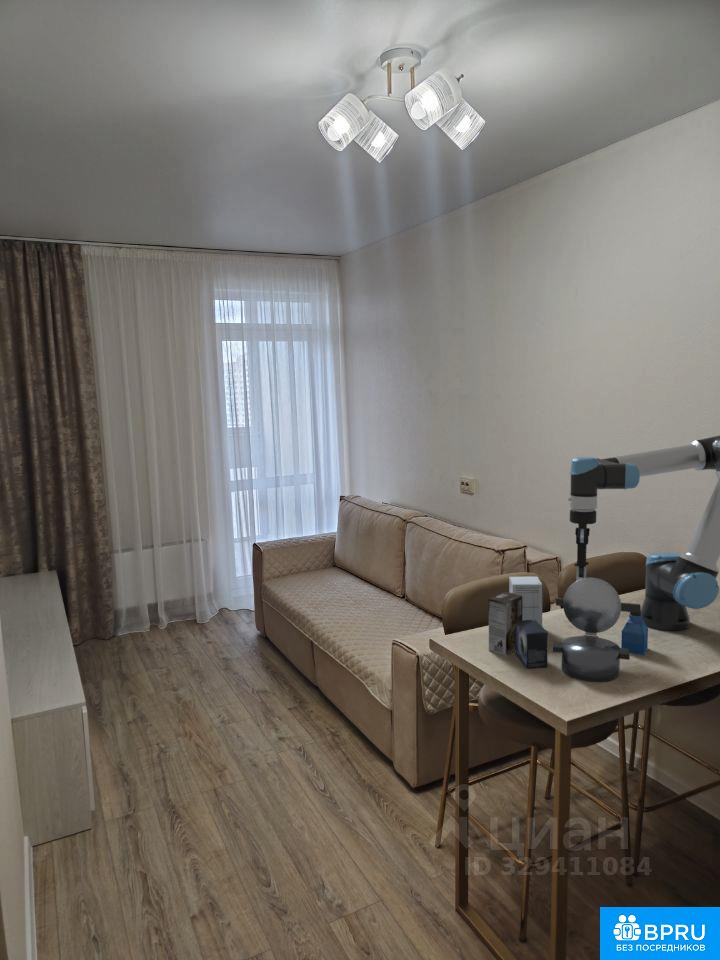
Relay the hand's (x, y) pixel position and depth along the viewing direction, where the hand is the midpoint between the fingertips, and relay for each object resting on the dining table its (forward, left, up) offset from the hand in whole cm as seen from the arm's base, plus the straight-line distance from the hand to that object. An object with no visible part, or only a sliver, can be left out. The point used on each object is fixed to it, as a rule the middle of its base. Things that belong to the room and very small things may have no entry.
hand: (580, 586), depth 198 cm
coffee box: (+21, +12, -18) cm, 30 cm away
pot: (-3, +21, -17) cm, 27 cm away
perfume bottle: (-15, +2, -18) cm, 23 cm away
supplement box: (+17, -5, -18) cm, 25 cm away
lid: (-5, +11, -2) cm, 13 cm away
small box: (+13, +19, -18) cm, 29 cm away
